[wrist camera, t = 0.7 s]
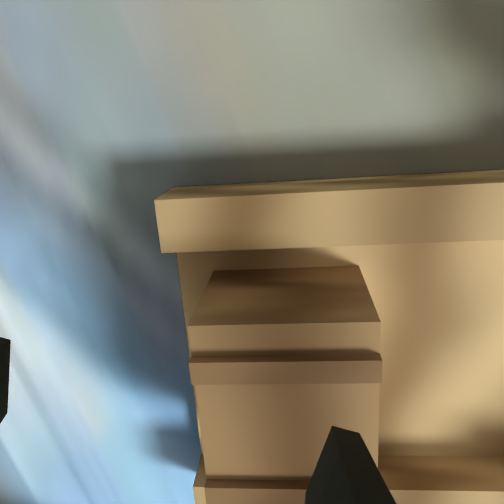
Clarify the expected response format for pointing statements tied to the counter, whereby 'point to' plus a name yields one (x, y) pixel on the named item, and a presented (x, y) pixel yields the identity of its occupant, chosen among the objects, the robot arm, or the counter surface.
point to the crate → (281, 376)
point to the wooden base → (383, 303)
